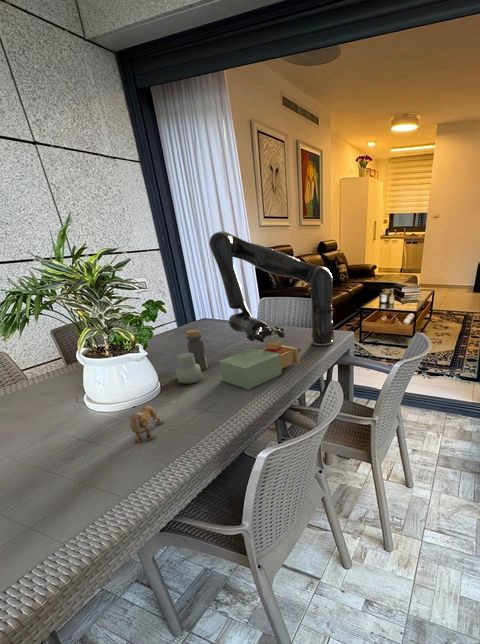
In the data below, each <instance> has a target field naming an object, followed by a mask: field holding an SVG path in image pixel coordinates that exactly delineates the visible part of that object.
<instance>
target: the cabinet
mask: <svg viewBox="0 0 480 644" xmlns="http://www.w3.org/2000/svg"><path fill="white" fill-rule="evenodd" d="M219 368H220V372H221V378H222V379H221V380H222V382H224V383H228V384H231V385H233V386H237V387H240V388H242V389H245V390H247V391H250V390H251V389H254V388H256V387H257V386H260V385H262V384H264V383H266V382H268V381H270V380H273V379H275V378H277V377H279V376H281V375H282V374H283V373H282V372H283V371H282V370H283V369H281V358H280V354H276V353H272V352H268V351H264V350H263V349H259V348H256V347H253V348H251V349H247V350H245V351H242V352H239V353H237V354H233V355H231V356H229V357H226V358H223V359H220V360H219Z"/></svg>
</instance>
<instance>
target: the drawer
mask: <svg viewBox="0 0 480 644" xmlns="http://www.w3.org/2000/svg"><path fill="white" fill-rule="evenodd" d="M281 346H282V354H281V355H280V358H281V370H283V369H284V368H287V367H289V366H291V365H293V364H296V365H298V364H299V363H300V359H299V358H300V357H299V353H300V352H301V348H299V347H295V346H291V345H283V344H281ZM262 350H264V351H266V348H263V349H262Z"/></svg>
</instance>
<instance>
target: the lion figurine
mask: <svg viewBox="0 0 480 644" xmlns="http://www.w3.org/2000/svg"><path fill="white" fill-rule="evenodd" d="M151 418H152V421H155V420H156V425H161V424H162V420H161V418H160V416H159V415H158V414H157V412H156V410H155V408H154V407H152V406H150V405H147V406H144V407H142V408H141V410H140V412H135V413H133V414H132V415H131V416H130V417H129V419H128V423H129V428H130V430H131V431H132V432H133V433H134V434H135V436H136V437H137V439H136V442H137V443H141V442H142V441H143V438H142V434H144V433H146V438H147V440H148V441H151V440H153V439H154V437H153V436H152V434H151V429H150V422H151Z"/></svg>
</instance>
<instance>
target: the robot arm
mask: <svg viewBox="0 0 480 644" xmlns="http://www.w3.org/2000/svg"><path fill="white" fill-rule="evenodd" d="M208 241H209V242H208V243H209V244H208V245H209V248H210V251H211V253H212V256H213V258H214V260H215V263H216V265H217V267H218V271H219V274H220V277H221V280H222V285H223V288H224V292H225V296H226V300H227V304H228V307H229V308H230V309H232V310H240V311H241V312H237V313H234V314H231V315H230V316H229V317H228V324H229V327H230V328H231V329H232V330H234V331H235V332H238V333H245V336H246V339H247V340H249V341H250V342H254V341H256V342H257V341H258V342H261V343H264V342H265V339H266V338H275V337H278V338H280V339H284V338H285V329H284V327H281V326H279V325H274V327H270V326H268V324H267V323H266V322H264V321H262V320H260V319H258V318H255V317H253V316H252V314H251V312H250V310H249V309H248V306H247V304H246V301H245V298H244V293H243V289H242V285H241V283H240V280H239V278H238V275H237V272H236V269H235V265H234V258H235V259H240V260H242V261H245V262H247V263H249V264H251V265H252V266H254V267H256V268H257V269H259V270H261V271H263V272H267V273H269V274H273V275H275V276H278V277H279V276H280V277H285V278H292V279H297V280H300V281H302V282H305V283H307V284H309V285H310V310H311V311H310V313H311V338H312V339H311V340H312V342H311V343H312V345H314V346H317V347H327V346H330V345H333V343H334V339H335V336H334V335H335V333H334V322H333V276H332V273H331V272H330V270H329V269H328V268H327V267H325V266H323V265H316V264H312V263H308V262H304V261H301V260H299V259H297V258H296V257H293V256H291V255H289V254H287V253H285V252H282V251H279V250H276V249H274V248H271V247H268V246H264V245H262V244H261V245H260V244H257V243H252V242H249V241H247V240H244V239H242V238H240V237H237V236H235V235H233V234H231V233H229V232H227V231H224V230H220V231H217V232H214V233H213V234H212V235H211V236H210V238H209V240H208Z"/></svg>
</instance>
